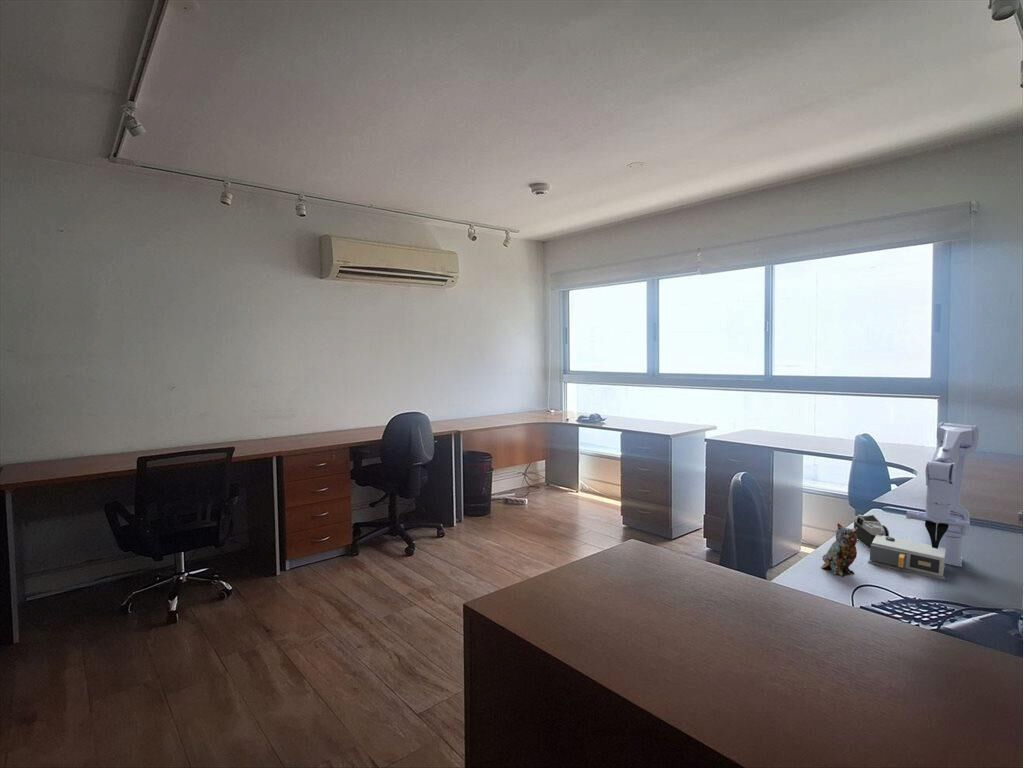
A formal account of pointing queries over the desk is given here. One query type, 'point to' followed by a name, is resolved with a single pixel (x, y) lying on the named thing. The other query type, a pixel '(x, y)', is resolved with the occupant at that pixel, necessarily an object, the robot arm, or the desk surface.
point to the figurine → (841, 552)
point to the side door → (888, 556)
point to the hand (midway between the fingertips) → (935, 547)
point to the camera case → (915, 556)
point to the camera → (869, 529)
